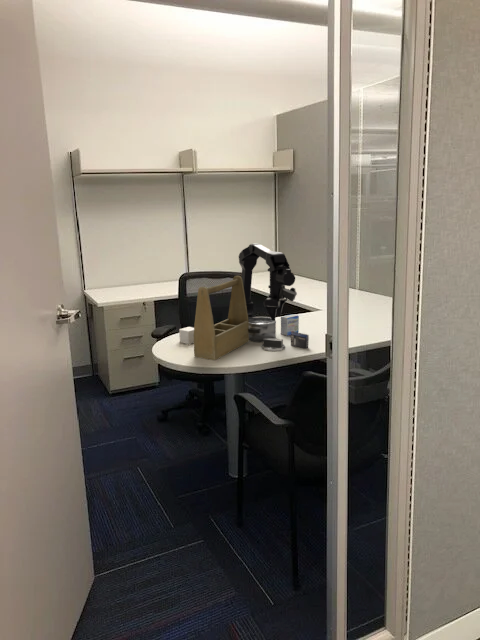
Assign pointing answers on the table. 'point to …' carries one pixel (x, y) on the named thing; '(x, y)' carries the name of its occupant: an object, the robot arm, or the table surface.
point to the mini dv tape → (299, 340)
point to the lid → (272, 344)
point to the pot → (261, 328)
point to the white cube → (187, 335)
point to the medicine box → (289, 324)
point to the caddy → (225, 333)
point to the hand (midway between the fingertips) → (276, 318)
